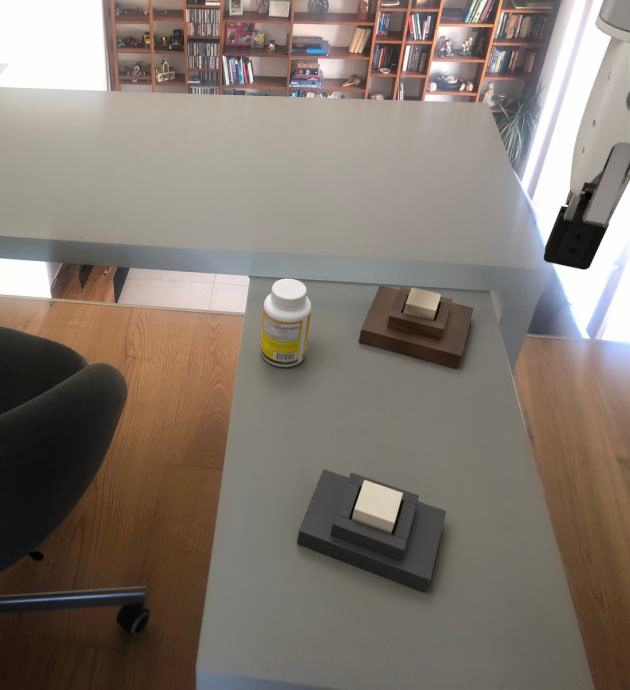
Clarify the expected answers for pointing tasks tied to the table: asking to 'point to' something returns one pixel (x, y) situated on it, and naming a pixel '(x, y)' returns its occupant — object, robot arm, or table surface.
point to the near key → (377, 506)
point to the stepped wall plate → (373, 532)
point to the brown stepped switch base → (416, 328)
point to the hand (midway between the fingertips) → (565, 259)
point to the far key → (422, 303)
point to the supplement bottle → (285, 323)
